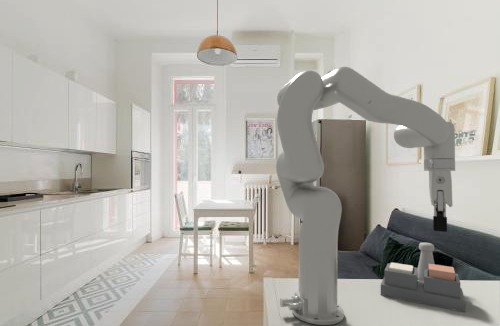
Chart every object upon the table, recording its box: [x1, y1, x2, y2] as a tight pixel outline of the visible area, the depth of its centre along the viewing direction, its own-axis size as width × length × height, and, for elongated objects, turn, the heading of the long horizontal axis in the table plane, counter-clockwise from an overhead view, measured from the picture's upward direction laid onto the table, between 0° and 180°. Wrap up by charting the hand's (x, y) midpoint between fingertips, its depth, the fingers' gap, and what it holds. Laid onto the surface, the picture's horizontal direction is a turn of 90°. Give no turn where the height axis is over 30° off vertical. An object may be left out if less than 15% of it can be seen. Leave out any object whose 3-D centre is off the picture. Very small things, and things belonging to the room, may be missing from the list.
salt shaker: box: [417, 242, 435, 281], centre depth 97 cm, size 6×6×13 cm
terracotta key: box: [429, 263, 456, 281], centre depth 84 cm, size 6×6×4 cm
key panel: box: [380, 262, 466, 313], centre depth 86 cm, size 20×10×7 cm, turn 59°
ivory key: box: [389, 262, 414, 274], centre depth 89 cm, size 6×6×4 cm
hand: (440, 230), depth 85 cm, fingers closed
